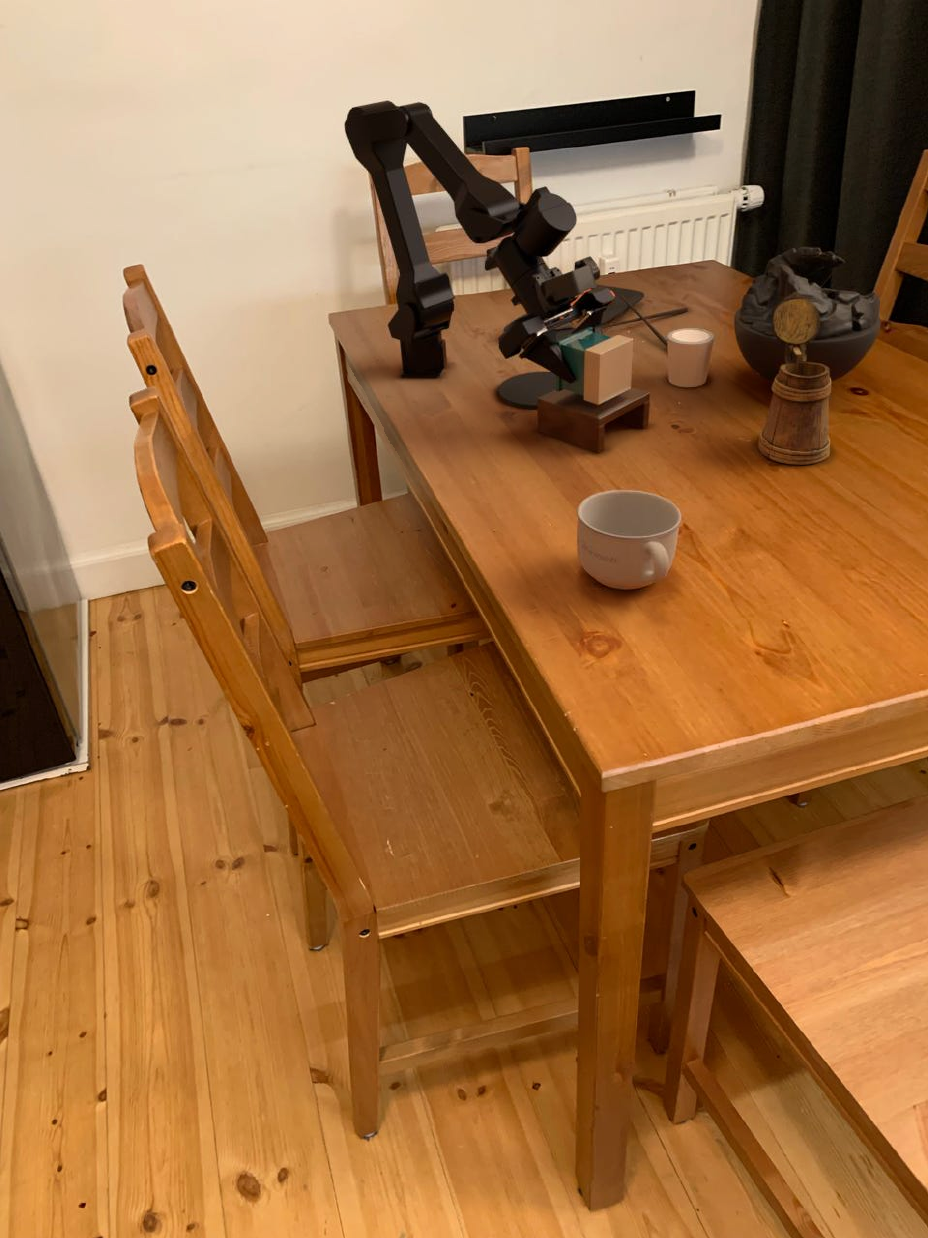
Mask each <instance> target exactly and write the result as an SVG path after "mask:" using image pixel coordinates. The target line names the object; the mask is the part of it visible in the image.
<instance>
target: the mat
mask: <svg viewBox="0 0 928 1238" xmlns="http://www.w3.org/2000/svg"><path fill="white" fill-rule="evenodd" d="M554 390H556V375H555V374H553V373H552V372H550V371H531V372H524V373H520V374H516V375H514V376H511V377H508V378H507V379H505V380H503V382H502V381H501V383H500V384H499V386H498V388H497V394H498V395H497V396H498V397H499V398H500V400H501V401H502V402H504V403H506V404H508V405H509V406H513V407H517V408H520V409H529V410H537V398H539V397H541V396H543V395H545V394H548V393H550V392H552V391H554Z"/></svg>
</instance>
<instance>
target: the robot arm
mask: <svg viewBox="0 0 928 1238" xmlns="http://www.w3.org/2000/svg"><path fill="white" fill-rule="evenodd" d="M344 133H345V136H346V138H347V141H348V143H349V146H350V149H351V151H352V153H353V156H354V158H355V159H356V160H357V162H358V163H359V164H360V165H361V166H362V167H363V168H364V169H365V170H366V171H367V172H368V173H369V175H370V176H371V179H372V183H373V186H374V189H375V193H376V197H377V200H378V204H379V207H380V210H381V214H382V217H383V221H384V225H385V227H386V230H387V235H388V238H389V241H390V244H391V248H392V252H393V254H394V257H395V258H394V259H395V263H396V265H397V269H398V273H399V276H398V280H397V287H396V291H395V299H396V305H397V311H396V312H395V314H394V315H393V316H392V317H391V319H390V320H389V322H388V323H387V328H388V331H389V334H390V336H391V338H392V339H395V340H398V341H399V345H400V355H401V366H402V370H401V371H400V374H399V375H400V378H401V377H402V378H439V377H441V376H442V375H441V374H442V373H443V371H444V370H445V368H446V366H447V364H448V356H447V355H448V354H447V344H446V342H447V341H446V339H445V338H443V335H442V334H443V333H442V331H444V330H449V329H450V325H451V320H452V316H453V312H455V302H454V300H455V299H456V296H455V294H454V293H453V290H452V287H451V281H450V277H449V275H448V274H447V272H441V273H440V272H439V271H438V269H436V268H435V267H434V266H433V264H432V263H431V260H430V256H429V252H428V249H427V246H426V242H425V238H424V235H423V231H422V228H421V227H422V226H421V224H420V220H419V216H418V213H417V209H416V206H415V202H414V200H413V199H414V198H413V195H412V192H411V188H410V185H409V181H408V177H407V173H406V170H405V165H404V163H405V157H406V151H407V147H408V146H409V148H410V149H411V150H412V151H413V152H414V153H415V155H416V156H417V157H418V159H420V161H421V162H422V163H423V165H424V166H425V167H426V168H427V170H428V171H429V172H430V173H431V174H432V175H433V177H434V178H435V179H436V181H437V182H438V183H439V184H440V186H442V188H443V189H444V190H445V192H446V193H447V194H448V195H449V197H450V198H451V200H452V202H453V206H454V217H455V218H456V219H457V221H458V223H459V224H460V226H461V228H462V229H463V232H464V233H465V235H466V236H467V238H468V239H469V240H470V241H472V243H474V244H486V243H490V242H493V241H496V240H498V239H501V241H500V242H499V243H498V244H497V245H496V246H493V247H491V248H488V249H486V250H485V251H486V258H485V261H484V270H485V271H486V272H489V271H491V270H494V269H497V268H498V270H499V272H500V274H501V275H502V277H503V278H504V280H505V281H506V283H507V284H508V286H509V288H510V289H511V291H512V293H513V294H514V295H513V297H512V298H511V299H510V302H511V303H512V304H513V307H517V306H521V307H522V309H523V310H524V311H525V314H526V313H527V316H525V317H522V318H520V319H518V318H516V319H517V320H516V319H514V320H515V321H514V320H513V321H514V322H513V323H512V324H511V325H510V326H509V327H508V328H507V330H506V331H505V332H504V331H503V332H502V334H501V335H500V336H499V337H498V350H499V351H500V353H501V355H502V356H503V357H504V359H505V360H508V359H510V358H512V357H515V356H517V355H518V358H520V359H521V360H523V359H526V360H528V361H530V362H531V363H534V364H535V365H538V366H540V367H542V368H544V370H545V369H546V370H547V371H548V372H552V373H553V374H555V375H557V376H558V377H560V378H562V379H563V380H565V381H566V382H568V383H570V384H571V383H573V382H574V381H575V380H576V378H575V376H574V373H573V371H572V369H571V367H570V366H569V364H568V362H567V360H566V359H565V357H564V355H563V354H562V352H561V350H560V348H559V347H558V345H557V342H556V328H558V327H560V326H562V325H565V324H567V323H569V322H571V324H572V325H573V326H574V327H575V330H574V331H573V332H572V333H571V335H572V334H574V333H576V332H579V331H581V330H583V329H585V328H588V327H592V328H593V330H592V332H595V333H599V334H602V335H604V334H603V328H602V327H601V322H602V317H603V314H604V313H605V312H606V311H607V307H608V306H609V305H610V304H611V303H612V302H613V301H614V300H615V298H614V296H613V294H612V293H611V291H610V290H609V288H608V287H604V286H605V285H603V286H599V287H597V285H598V284H597V282H596V281H598V280H599V279H600V277H601V269H600V268H599V265H598V263H596V261H595V260H594V259H593V257H592V256H586V257H584V258H582V259H579V260H576V261H575V262H574V267H573V268H574V269H573V270H571V271H568V272H565V273H563V272H562V270H561V269H560V268H558V267H557V266H554V267H552V268H550V267H549V266H548V264H547V262H546V260H545V259H544V258H547V257H549V256H550V255H551V254H553V253H554V251H556V250H557V248H558V247H559V245H561V244H562V242H563V241H564V240H565V239H566V237H568V235H569V234H570V233H571V232H572V230H573V229H574V228H575V227H576V225H577V222H578V220H577V219H578V218H577V213H576V211H575V209H574V207H573V205H572V204H571V202H568V201H567V200H566V199H565V198H563V197H562V196H560V195H558V194H557V193H554V192H553V193H552V192H551V191H550V190H549V188H548V186H542V187H538V188H535V189H534V190H533V191H532V193H531V194H530V196H529V198H528V200H527V202H526V203H524V202H522V201H519V200H517V198H516V197H515V195H514V194H513V193H512V192H510V191H509V190H508V189H507V188H506V187H505V186H503V185H502V184H501V183H500V182H499V181H498V180H494V179H492V178H490V177H487V176H485V175H484V174H482V173H481V172H480V171H478V170H477V168H476V167H475V166H474V165H473V163H472V162H471V161H470V159H469V158H468V157H467V156H466V155H465V154H464V152H463V151H462V150H461V149H460V147H459V146H458V145H457V144H456V142H455V141H454V140H453V139H452V137H450V135H449V134H448V133H447V131H446V130H445V129H444V128H443V126H442V125H440V123H439V122H438V121H437V119H436V118H435V117H434V114H433V111H432V109H431V108H430V106H429V105H428V104H427V103H424V102H421V101H417V102H413V103H407V104H403V105H399V106H398V105H396V104H395V103H394V102H392V101H391V100H383V101H378V102H373V103H367V104H362V105H357V106H353V107H351V108H350V109H349V110H348V112H347V115H346V119H345V121H344ZM502 238H503V239H502ZM589 289H591V290H589ZM586 290H589V291H587V292H585V293H584V291H586ZM583 293H584V294H583ZM580 294H583V295H582V296H581V297H580V298H579V299H578V300H577V301H576V302H575V303H574V304H573V305H572V306H571V303H572V302H574V301H575V300H576V299H577V298H578V297H579V295H580ZM561 317H564V318H562V319H560V318H561ZM549 323H550V324H549ZM522 350H523V351H522Z"/></svg>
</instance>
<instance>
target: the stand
mask: <svg viewBox="0 0 928 1238" xmlns="http://www.w3.org/2000/svg"><path fill="white" fill-rule="evenodd" d="M650 398H651V393H650V392H649V391H646V390H643V389H641V388H640V389H639V388H636V387H633V386H631V389H629V390H627V391H625V392H623V393H621V394H619V395H617V396H615V397H613V398H611V399H609V400H607V401H605V402H603V403H601V404H599V405H597V404H594V403H591V402H588V401H585V400H584V396H583V395H580V394H577V393H574V392H571V391H568V390H565V389H563V390H561V391H559V392H558V391H556V390H554V391H552V392H550V393H548V394H545V395H543V396H541V397H539V398H537V409H536V411H537V413H536V414H537V432H538V433H541V434H544V435H546V436H549V437H552V438H555V439H557V440H560V441H563V442H565V443H569V444H571V445H574V446H576V447H579V448H583V449H585V450H588V451H591V452H593V453H596V454H600V453H601V452H603V451H604V450H605V425H606V424H608V423H610V422H611V421H614V420H616V421H618V422H622V423H624V424H626V425H627V424H628V425H630V426H633V427H637V428H640V429H642V430H644V429H645V428H648V426H649V419H650V403H651V402H650V400H651V399H650Z"/></svg>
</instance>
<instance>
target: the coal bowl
mask: <svg viewBox="0 0 928 1238" xmlns="http://www.w3.org/2000/svg"><path fill="white" fill-rule="evenodd" d="M845 263H846V261H845V260H844V259H843V258H841V257H840V256H837V255H836V254H835V253H834V252H833V251H831V250H829V251H826V252H822V250H821V248H820V247H809V246H801V247H799V248H797V249H796V248H795V247H792V248H790V249H789V250H787V251H785V252H783V253H782V254H778V255H776V256H775V257H773V258H771V259H769V260H768V262H767V264H766V268H765V272H764V274H761V275H760V274H759V275H758V276H755V277H754V278H753V279H752V284H751V285H750V286H749V288H748V289H747V291H746V293H745V294H744V295H743V297H742V298H741V306H740V308H738V309H737V310H736V312H735V314H734V319H733V326H734V335H735V339H736V344H737V346H738V348H739V351H740V353H741V356H742V357H743V358H744V360H745V362H746V363H747V364H748V366H749V367H750V368H751V369H752V370H753V371H754V372H755V373H756V374H757V375H759V376H760V377H762V378H763V379H765V380H766V381H768V382H770V383H772V384H773V383H774V380H775V378H776V376H777V375H778V374H779V370H780V367H781V366H782V365H783V364H786V362H785V346H784V345H783V344H782V343H781V342H779V341H778V340H777V338H776V337H775V335H774V333H773V323H772V318H773V313H774V310H775V308H776V307H777V305H778V304H779V303H780V302H781V301H783V300H784V299H785V298H786V297H788V296H789V295H791V294H792V293H794V292H798V293H800V294H802V295H803V296H805V297H807V298H808V299H809V300H811V301H812V302H813V303H814V305H815V306H816V308H817V310H818V312H819V316H820V325H819V331H818V334H817V335H816V336H815V338H814V339H813V340H812V341H811V342H809V343H808V344H807V345H806V351H807V360H806V362H812V363H819V364H823V365H826V366H827V367H828V368H829V370H830V378H831V383H833V382H835V381H837V380H839V379H841V378H842V377H844V376H845V375H847V374H848V373H850V372H851V371H852V370H853V369H855V368H856V367H857V366H858V365H859V364H860V363H861V362H862V361H863V360H864V359H865V357H866V356H867V355H868V353H869V352H870V351H871V349H872V347H873V346H874V343H875V341H876V339H877V336H878V334H879V331H880V328H881V324H882V321H881V318H880V310H881V309H880V307H881V299H880V298H879V295H878V294H877V292H875V291H873V292H870V293H868V294H866V295H861V294H860V293H859V292H857V291H855V290H853V291H852V290H851V291H850V290H841V289H835V288H834V289H831V288H828V287H827V288H826V287H824V285H825V284H826V283H827V282H828V281H829V279H830V277H831V276H832V275H833V274H834V272H835V270H836V269H837V268H839V267H841V266H842V265H844V264H845Z"/></svg>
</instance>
